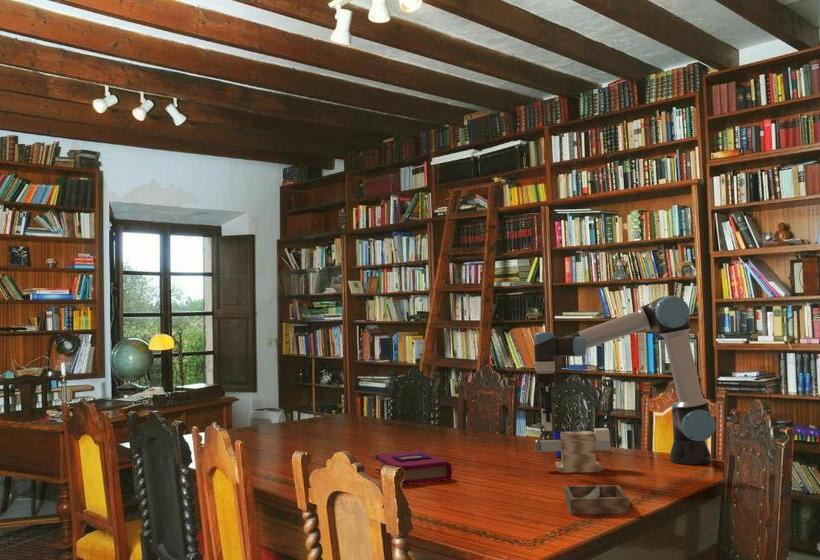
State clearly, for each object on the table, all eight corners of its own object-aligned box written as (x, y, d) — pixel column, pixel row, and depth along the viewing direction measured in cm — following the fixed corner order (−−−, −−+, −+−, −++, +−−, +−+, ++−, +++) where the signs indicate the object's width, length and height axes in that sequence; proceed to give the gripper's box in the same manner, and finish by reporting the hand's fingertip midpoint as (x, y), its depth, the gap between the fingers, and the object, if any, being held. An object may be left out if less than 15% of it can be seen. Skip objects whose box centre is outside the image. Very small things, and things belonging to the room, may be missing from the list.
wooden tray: (619, 499, 234) (618, 485, 234) (629, 513, 217) (629, 498, 217) (564, 500, 236) (564, 485, 236) (570, 514, 219) (570, 499, 219)
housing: (597, 464, 289) (595, 429, 290) (603, 471, 275) (601, 435, 276) (555, 465, 291) (554, 430, 291) (559, 472, 277) (557, 436, 277)
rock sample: (570, 489, 234) (589, 473, 230) (589, 503, 235) (608, 487, 231) (570, 511, 225) (590, 494, 221) (590, 525, 225) (610, 509, 222)
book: (424, 467, 299) (423, 448, 299) (452, 480, 272) (451, 459, 273) (374, 472, 291) (374, 453, 292) (398, 487, 265) (397, 465, 265)
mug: (584, 458, 302) (583, 433, 302) (554, 458, 304) (552, 433, 304) (583, 454, 310) (582, 430, 310) (554, 454, 312) (553, 430, 312)
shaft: (609, 449, 284) (608, 437, 284) (611, 451, 280) (610, 439, 280) (535, 450, 287) (534, 439, 287) (535, 452, 282) (535, 441, 283)
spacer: (607, 438, 285) (607, 428, 285) (609, 440, 280) (609, 430, 280) (594, 438, 285) (593, 428, 285) (596, 441, 280) (595, 430, 281)
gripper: (533, 370, 299) (534, 423, 297) (537, 375, 274) (539, 433, 273) (551, 369, 298) (553, 423, 297) (558, 374, 273) (560, 432, 272)
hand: (546, 428), depth 285 cm, fingers open, 13 cm apart
